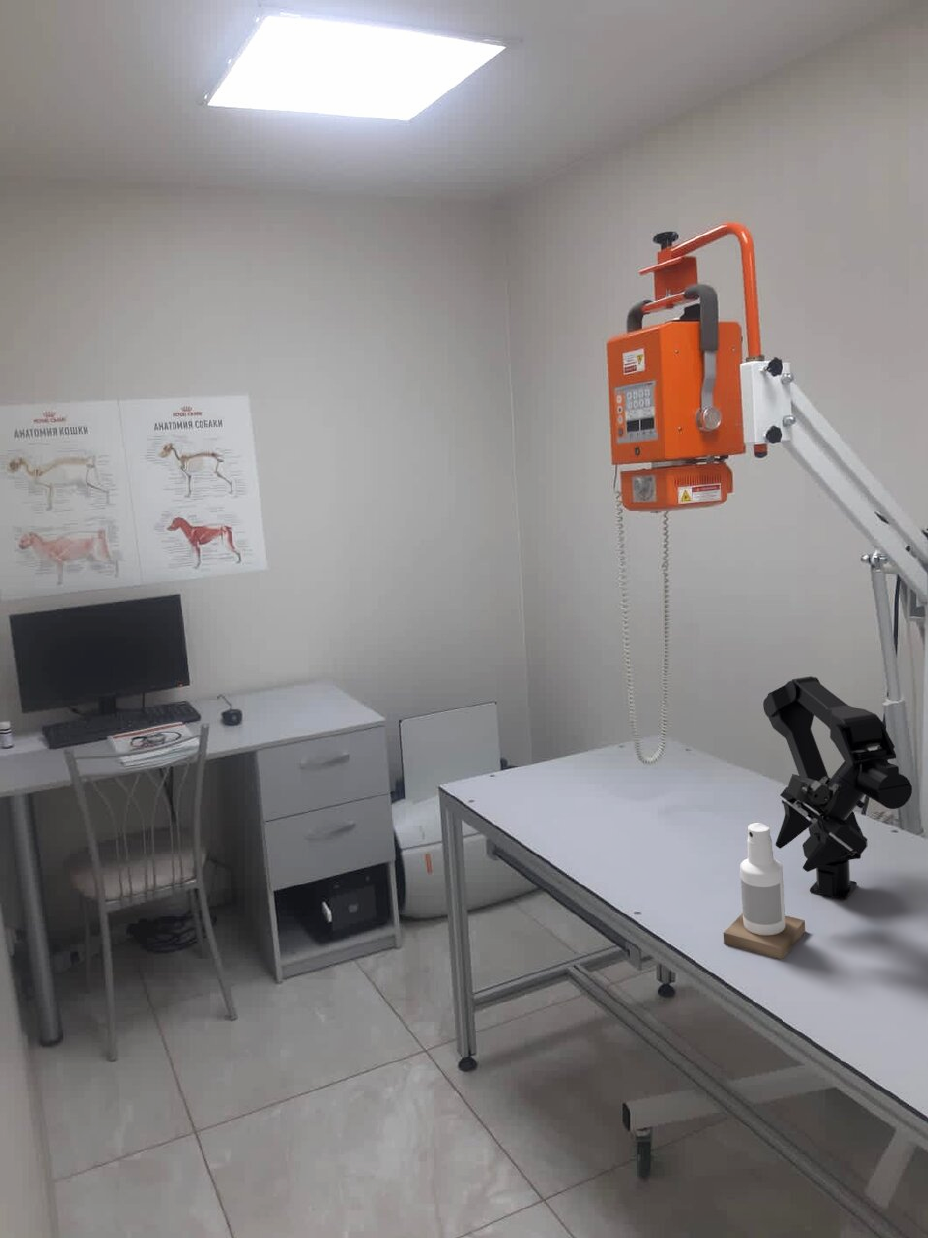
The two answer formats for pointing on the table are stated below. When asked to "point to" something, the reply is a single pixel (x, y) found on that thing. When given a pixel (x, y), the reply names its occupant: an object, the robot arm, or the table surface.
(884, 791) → the robot arm
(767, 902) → the spray bottle
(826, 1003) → the table surface
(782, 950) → the brown flat square block
